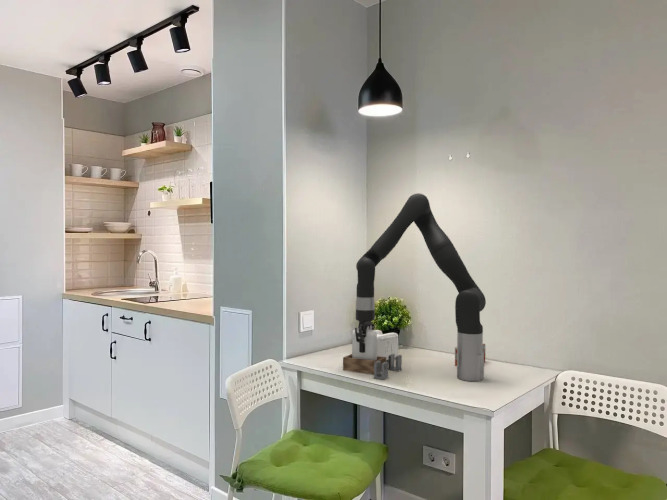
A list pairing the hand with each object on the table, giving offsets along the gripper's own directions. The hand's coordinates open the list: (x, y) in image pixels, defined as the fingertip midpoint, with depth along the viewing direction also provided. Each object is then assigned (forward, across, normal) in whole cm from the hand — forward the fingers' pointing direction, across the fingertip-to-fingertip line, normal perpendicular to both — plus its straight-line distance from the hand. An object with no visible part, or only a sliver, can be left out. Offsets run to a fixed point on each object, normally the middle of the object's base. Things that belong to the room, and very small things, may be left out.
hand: (364, 351), depth 210 cm
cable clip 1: (+7, -8, -10) cm, 15 cm away
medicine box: (+8, +32, -34) cm, 47 cm away
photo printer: (+3, 0, 0) cm, 3 cm away
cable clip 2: (+7, +6, -10) cm, 14 cm away
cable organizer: (+8, +20, +3) cm, 21 cm away
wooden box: (+7, 0, 0) cm, 7 cm away
